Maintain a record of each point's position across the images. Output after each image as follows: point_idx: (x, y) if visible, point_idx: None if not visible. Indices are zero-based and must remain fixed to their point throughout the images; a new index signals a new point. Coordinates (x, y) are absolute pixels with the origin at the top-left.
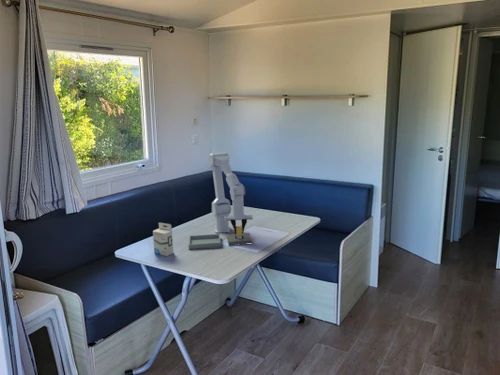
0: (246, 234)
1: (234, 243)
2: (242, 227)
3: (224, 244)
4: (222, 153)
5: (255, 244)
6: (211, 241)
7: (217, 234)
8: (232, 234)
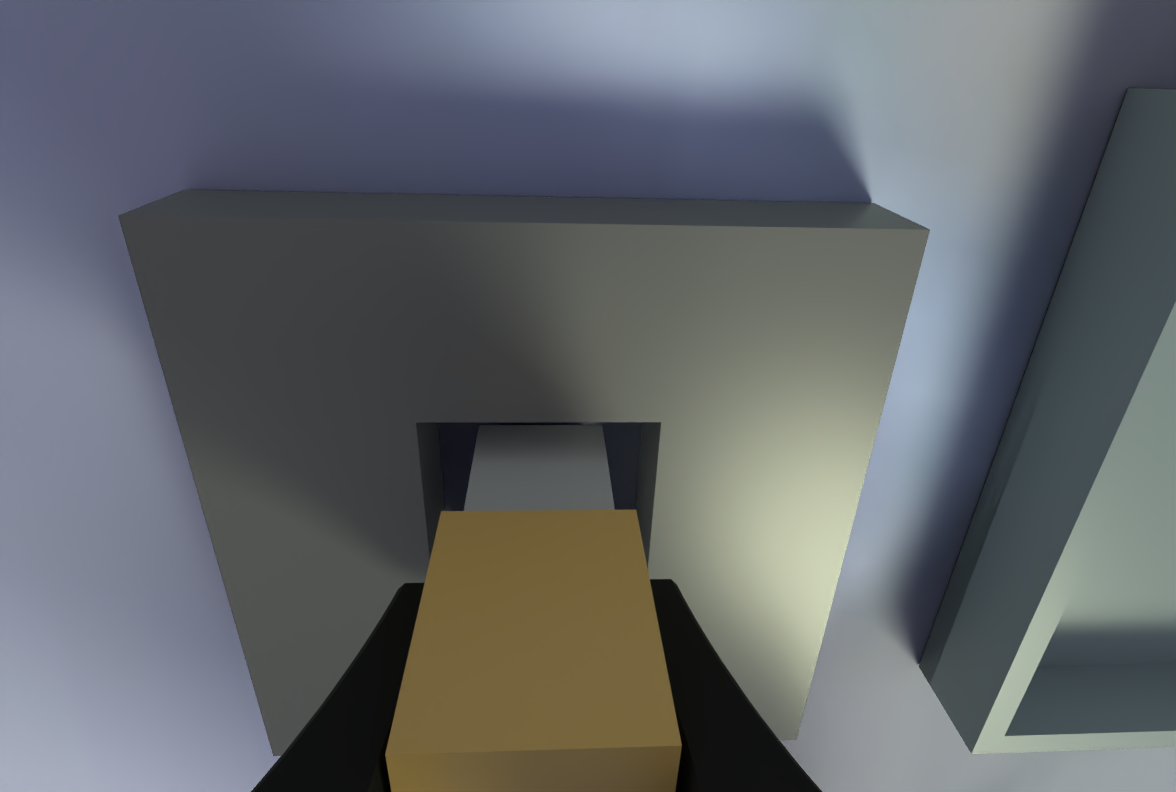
0: None
1: (720, 210)
2: (363, 784)
3: (947, 313)
4: None
5: (68, 128)
6: None
7: (1024, 734)
8: None
